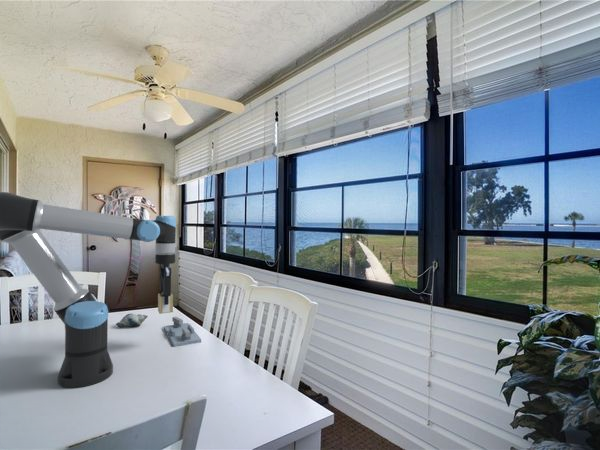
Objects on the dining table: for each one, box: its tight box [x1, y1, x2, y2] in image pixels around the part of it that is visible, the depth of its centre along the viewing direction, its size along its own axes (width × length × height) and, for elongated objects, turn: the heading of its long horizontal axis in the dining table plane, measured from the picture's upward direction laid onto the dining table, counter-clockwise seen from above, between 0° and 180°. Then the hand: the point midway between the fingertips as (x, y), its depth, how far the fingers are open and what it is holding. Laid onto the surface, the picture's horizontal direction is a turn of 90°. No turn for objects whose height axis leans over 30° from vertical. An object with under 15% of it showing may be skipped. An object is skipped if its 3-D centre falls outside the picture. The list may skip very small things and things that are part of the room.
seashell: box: [115, 313, 149, 328], centre depth 161 cm, size 6×8×12 cm
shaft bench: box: [163, 316, 202, 348], centre depth 150 cm, size 26×11×5 cm, turn 30°
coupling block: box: [157, 292, 174, 315], centre depth 136 cm, size 5×5×8 cm
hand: (164, 310), depth 136 cm, fingers closed on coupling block, 5 cm apart
